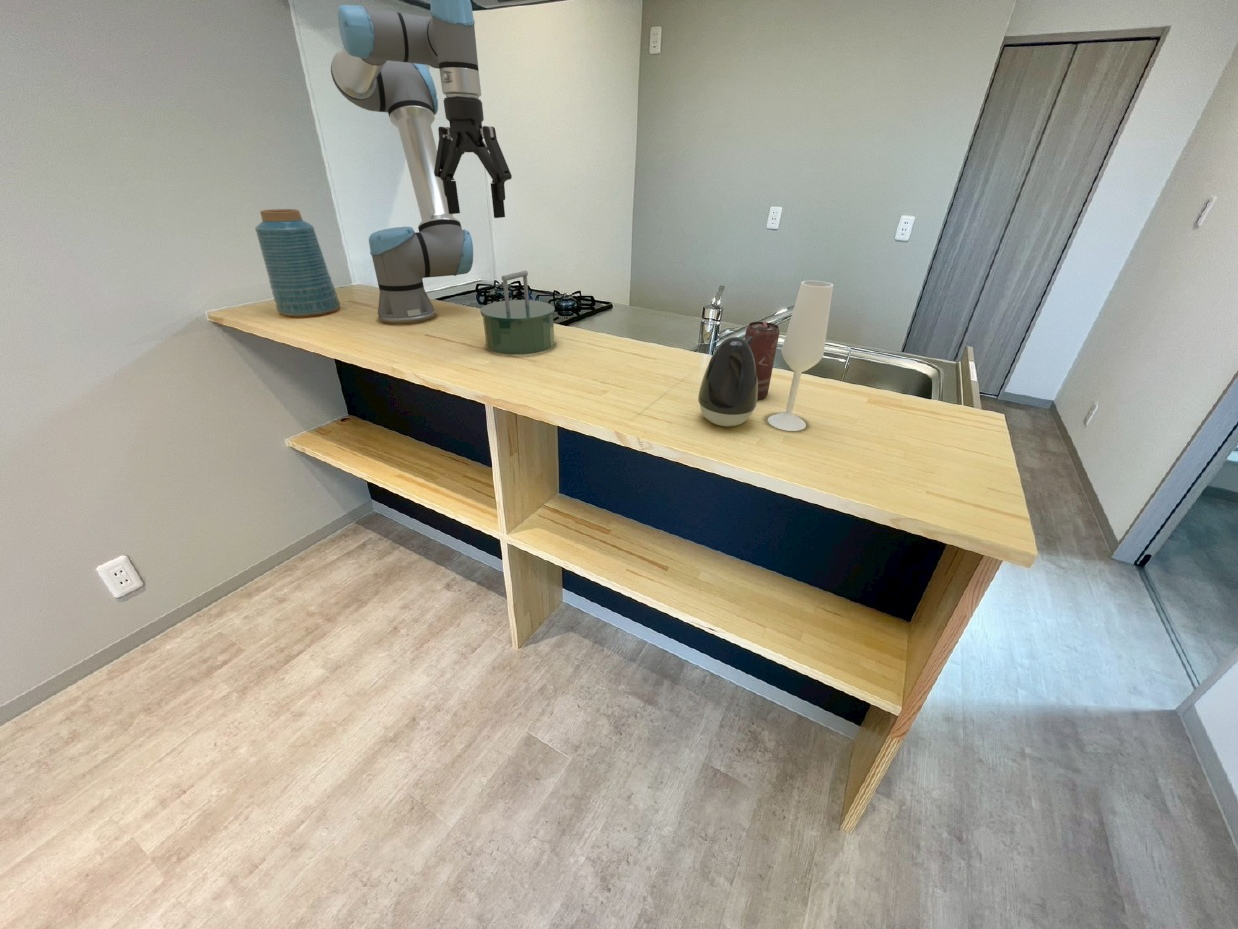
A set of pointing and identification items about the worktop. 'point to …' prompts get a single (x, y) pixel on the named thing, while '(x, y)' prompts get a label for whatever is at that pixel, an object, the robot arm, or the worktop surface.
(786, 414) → the champagne flute
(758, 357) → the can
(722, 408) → the dark grey egg shape
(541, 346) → the pot
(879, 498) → the worktop surface
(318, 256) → the vase
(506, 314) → the lid
